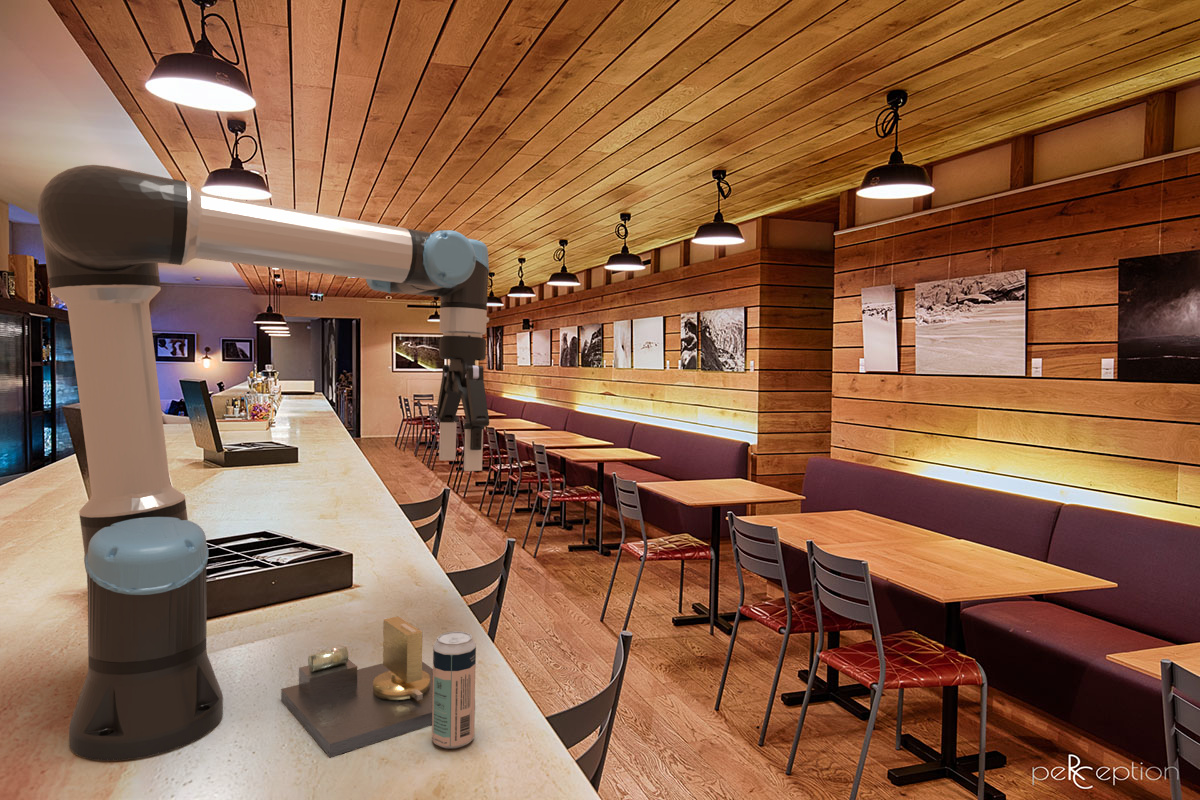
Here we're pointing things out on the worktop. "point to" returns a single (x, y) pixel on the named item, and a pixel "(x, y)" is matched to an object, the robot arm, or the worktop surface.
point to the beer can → (453, 690)
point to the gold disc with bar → (401, 662)
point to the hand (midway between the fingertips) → (459, 465)
